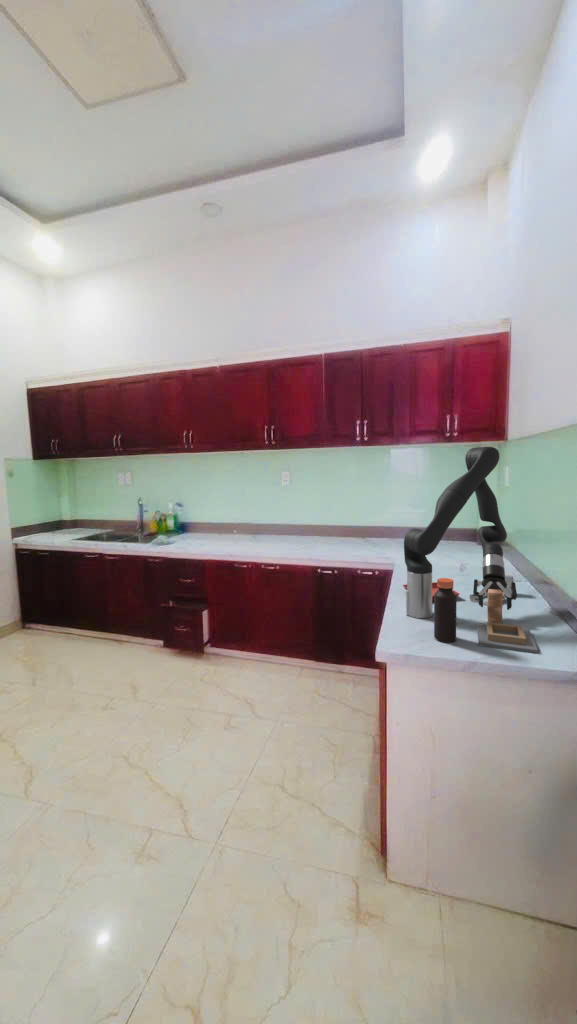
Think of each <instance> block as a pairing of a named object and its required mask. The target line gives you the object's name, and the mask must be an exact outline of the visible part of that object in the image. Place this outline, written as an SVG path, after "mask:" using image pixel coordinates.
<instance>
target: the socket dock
mask: <svg viewBox="0 0 577 1024" xmlns="http://www.w3.org/2000/svg"><path fill="white" fill-rule="evenodd" d="M476 628H477V629H476V631H477V640H478V647H479V646H480V647H488V648H495V649H503V650H510V651H517V652H524V653H532V654H538V652H539V649H538V647H537V644H536V642H535V639H534V637H533V635H532V632H531V630H530V629H525V628H524V629H523V626H522V625H515V624H507V623H506V624H505V623H493V622H488V621H487V622H486V624H482V623H477V624H476Z"/></svg>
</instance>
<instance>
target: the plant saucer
mask: <svg viewBox="0 0 577 1024" xmlns="http://www.w3.org/2000/svg"><path fill="white" fill-rule="evenodd" d="M402 587H403V588H404V590H406V591H407V584H402ZM437 591H438V586H437V581H436V582H432V602H434V594H435V593H436V592H437ZM452 591H453V592H454V593H455V595H456V598H457V597H458V596H459V595H460V594H461V593H460V592H458V591H456V590H455V589H452Z"/></svg>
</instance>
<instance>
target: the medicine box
mask: <svg viewBox="0 0 577 1024" xmlns="http://www.w3.org/2000/svg"><path fill="white" fill-rule="evenodd" d="M505 581H506V583H512V582H514V575H512V574H511V573H505ZM505 589H506V590H507V592H508V593H509V594H510V595H512V591H511V589H509V587H506V588H505Z"/></svg>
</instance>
